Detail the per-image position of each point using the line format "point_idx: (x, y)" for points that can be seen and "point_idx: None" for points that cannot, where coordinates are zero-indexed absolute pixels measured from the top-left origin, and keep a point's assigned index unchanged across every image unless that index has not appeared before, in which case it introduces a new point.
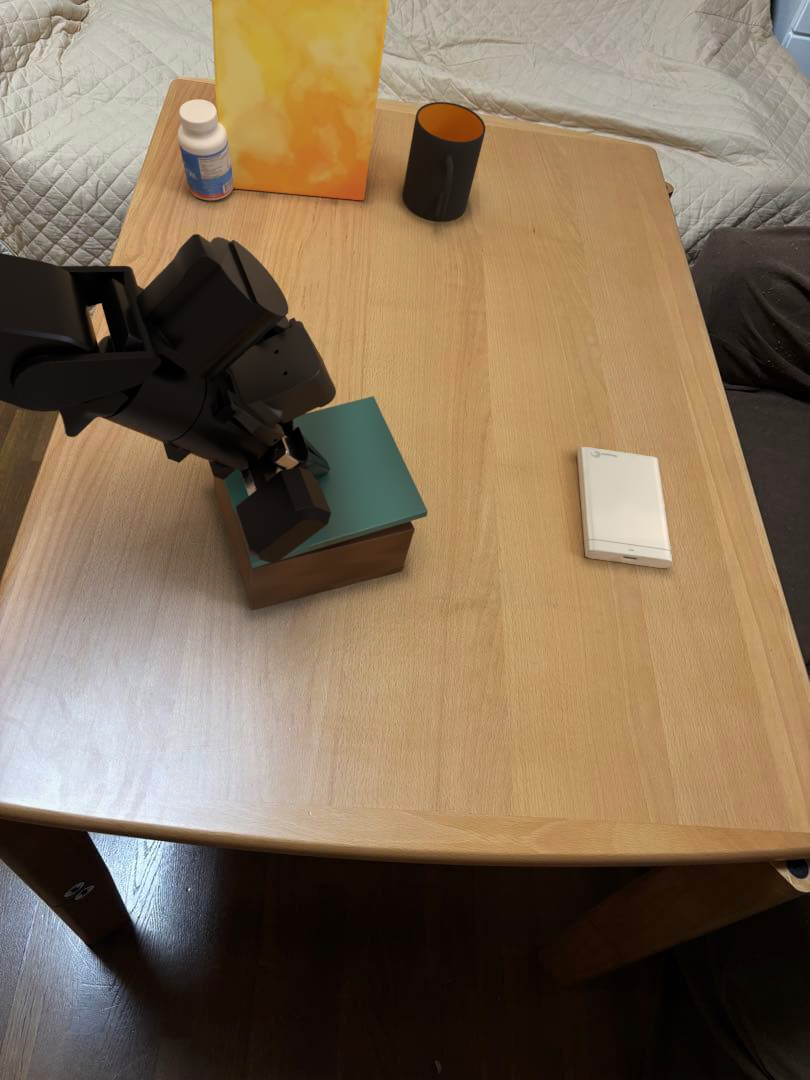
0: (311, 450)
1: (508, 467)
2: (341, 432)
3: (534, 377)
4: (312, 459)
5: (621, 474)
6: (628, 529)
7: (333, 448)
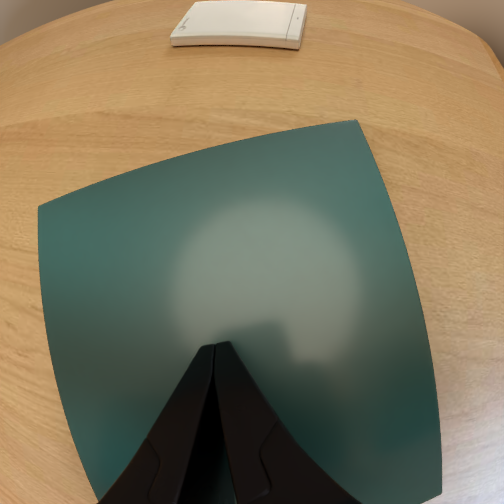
0: (201, 414)
1: (173, 94)
2: (105, 290)
3: (77, 81)
4: (271, 428)
5: (209, 15)
6: (274, 16)
7: (149, 319)
